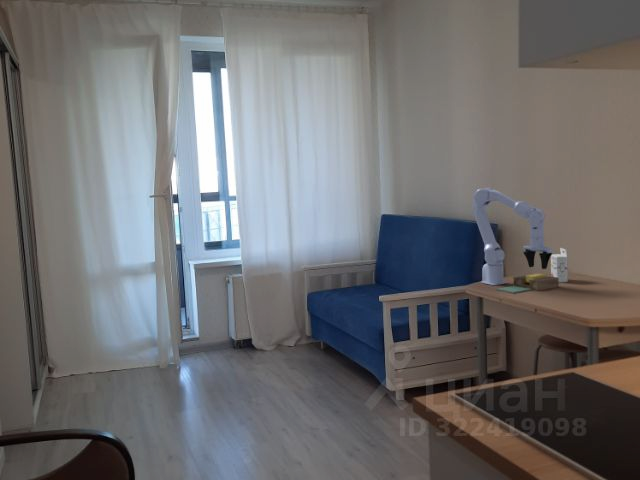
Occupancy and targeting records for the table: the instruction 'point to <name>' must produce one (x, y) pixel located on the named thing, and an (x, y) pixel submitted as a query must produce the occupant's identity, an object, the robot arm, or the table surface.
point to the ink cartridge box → (559, 266)
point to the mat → (513, 289)
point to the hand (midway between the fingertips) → (537, 267)
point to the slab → (534, 276)
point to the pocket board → (536, 282)
